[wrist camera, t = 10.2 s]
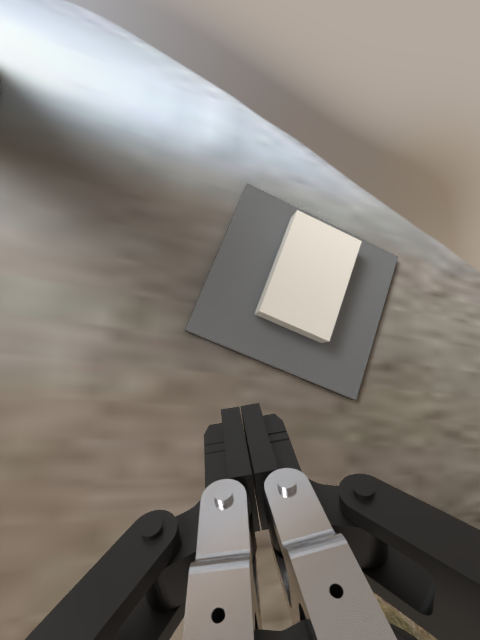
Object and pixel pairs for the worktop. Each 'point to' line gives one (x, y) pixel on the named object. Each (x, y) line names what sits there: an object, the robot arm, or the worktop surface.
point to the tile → (309, 278)
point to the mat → (272, 339)
